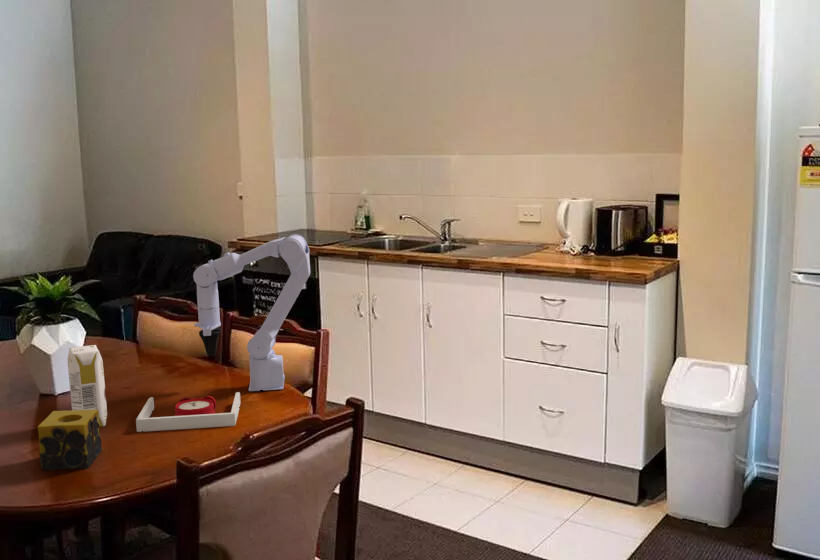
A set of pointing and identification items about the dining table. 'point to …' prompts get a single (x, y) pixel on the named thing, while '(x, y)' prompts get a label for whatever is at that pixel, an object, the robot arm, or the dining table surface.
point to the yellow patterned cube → (69, 440)
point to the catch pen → (185, 419)
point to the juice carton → (87, 381)
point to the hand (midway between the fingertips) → (211, 355)
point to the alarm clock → (195, 406)
